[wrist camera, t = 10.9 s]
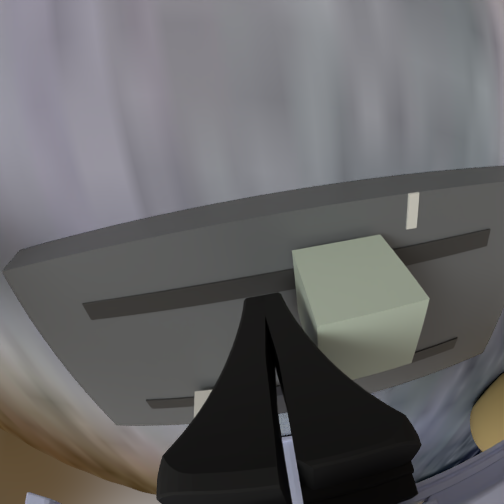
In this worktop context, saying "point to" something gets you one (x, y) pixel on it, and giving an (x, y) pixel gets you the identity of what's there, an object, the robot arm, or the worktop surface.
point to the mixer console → (255, 283)
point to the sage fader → (359, 304)
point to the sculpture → (489, 416)
